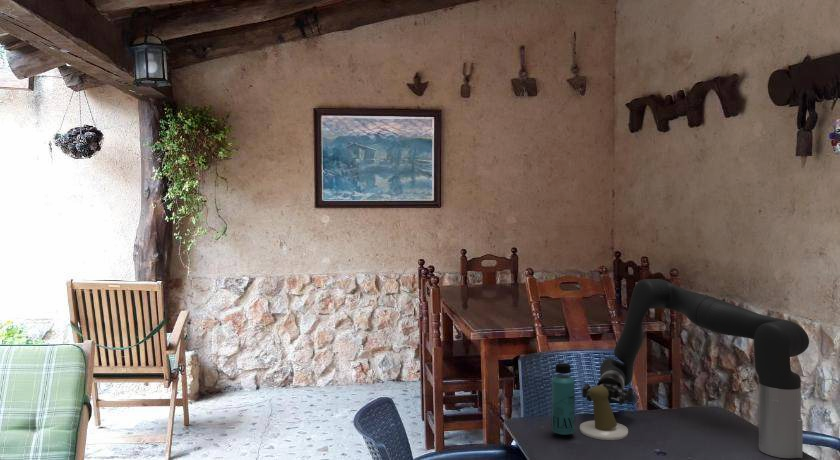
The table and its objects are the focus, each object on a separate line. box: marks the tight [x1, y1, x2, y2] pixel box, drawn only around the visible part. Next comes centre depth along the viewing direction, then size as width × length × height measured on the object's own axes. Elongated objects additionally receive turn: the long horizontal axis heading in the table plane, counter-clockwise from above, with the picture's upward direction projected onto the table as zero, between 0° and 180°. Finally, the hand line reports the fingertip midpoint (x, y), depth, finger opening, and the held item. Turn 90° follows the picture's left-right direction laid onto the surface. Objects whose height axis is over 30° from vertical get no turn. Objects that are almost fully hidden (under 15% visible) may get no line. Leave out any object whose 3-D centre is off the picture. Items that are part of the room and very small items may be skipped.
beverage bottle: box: [550, 362, 576, 435], centre depth 168 cm, size 6×7×20 cm
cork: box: [589, 385, 618, 430], centre depth 171 cm, size 6×6×11 cm
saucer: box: [579, 419, 629, 441], centre depth 171 cm, size 13×13×1 cm
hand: (605, 399), depth 174 cm, fingers open, 8 cm apart
